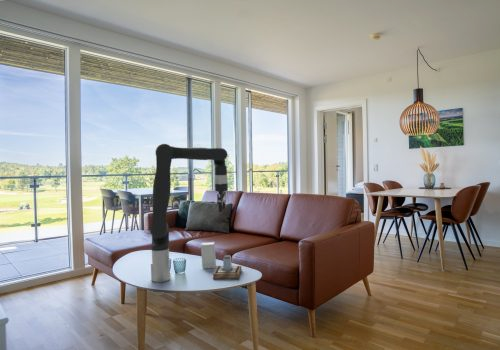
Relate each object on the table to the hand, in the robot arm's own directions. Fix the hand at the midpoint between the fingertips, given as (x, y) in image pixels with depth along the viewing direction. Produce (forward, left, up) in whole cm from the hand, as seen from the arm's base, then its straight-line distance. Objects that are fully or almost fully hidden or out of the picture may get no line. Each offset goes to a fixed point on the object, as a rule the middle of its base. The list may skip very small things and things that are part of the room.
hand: (222, 210), depth 191 cm
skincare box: (-11, +9, -36) cm, 39 cm away
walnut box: (+3, -5, -36) cm, 37 cm away
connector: (+3, -5, -35) cm, 36 cm away
